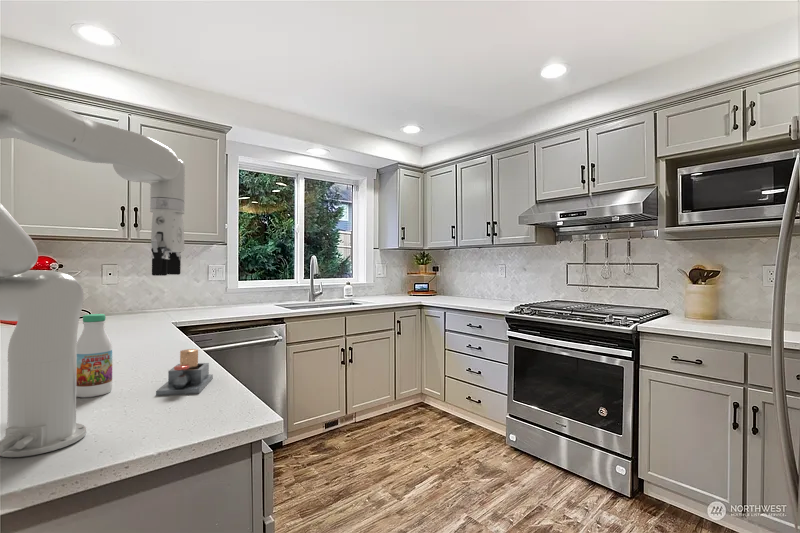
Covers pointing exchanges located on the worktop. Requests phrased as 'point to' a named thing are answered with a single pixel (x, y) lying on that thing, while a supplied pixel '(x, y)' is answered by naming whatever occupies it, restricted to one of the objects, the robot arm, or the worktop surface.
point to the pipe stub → (189, 358)
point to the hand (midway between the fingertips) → (166, 274)
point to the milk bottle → (94, 358)
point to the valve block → (186, 380)
